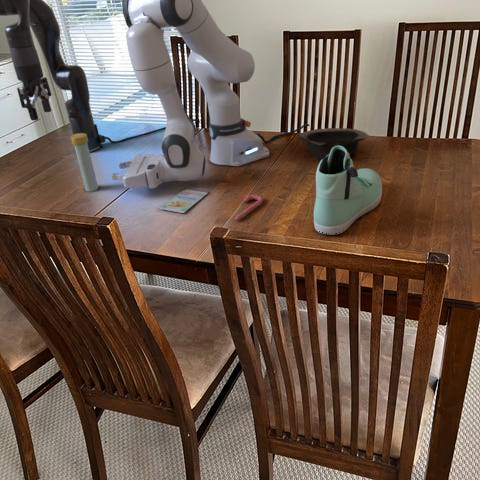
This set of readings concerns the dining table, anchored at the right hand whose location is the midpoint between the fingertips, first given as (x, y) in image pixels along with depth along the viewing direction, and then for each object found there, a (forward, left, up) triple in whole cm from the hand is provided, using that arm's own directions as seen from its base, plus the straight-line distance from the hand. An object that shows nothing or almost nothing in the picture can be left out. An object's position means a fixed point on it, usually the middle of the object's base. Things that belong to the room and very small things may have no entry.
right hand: (116, 171), depth 160 cm
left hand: (+18, -10, +20) cm, 28 cm away
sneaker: (-57, +51, -6) cm, 77 cm away
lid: (+9, -4, +12) cm, 16 cm away
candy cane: (-31, +37, -6) cm, 49 cm away
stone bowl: (-76, +13, -6) cm, 77 cm away
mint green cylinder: (+9, -4, -6) cm, 11 cm away
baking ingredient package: (-16, +22, -6) cm, 28 cm away
